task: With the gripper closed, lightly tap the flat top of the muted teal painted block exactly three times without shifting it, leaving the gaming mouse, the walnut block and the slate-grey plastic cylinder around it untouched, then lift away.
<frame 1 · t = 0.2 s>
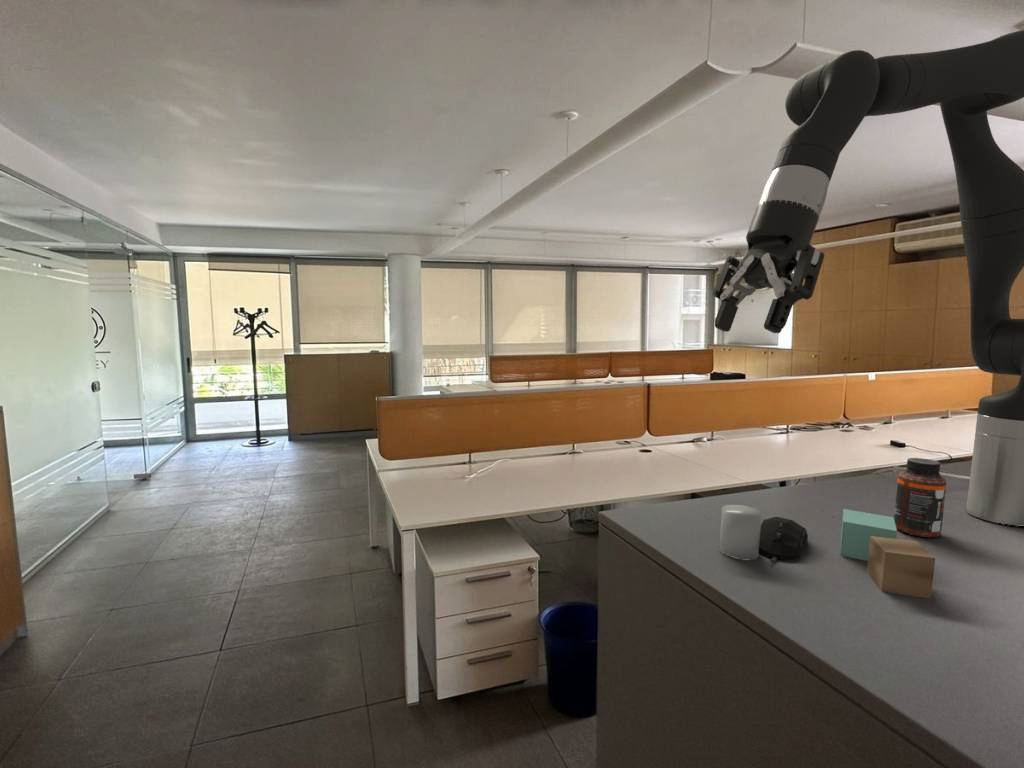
hand: (744, 330, 68), 31 cm above the table, tool tilted 20°, fingers open, 8 cm apart
grey cylinder: (738, 552, 73), on the table
gaming mouse: (778, 551, 75), on the table
supplement bottle: (916, 532, 82), on the table
teal block: (865, 553, 74), on the table
walnut block: (897, 585, 65), on the table
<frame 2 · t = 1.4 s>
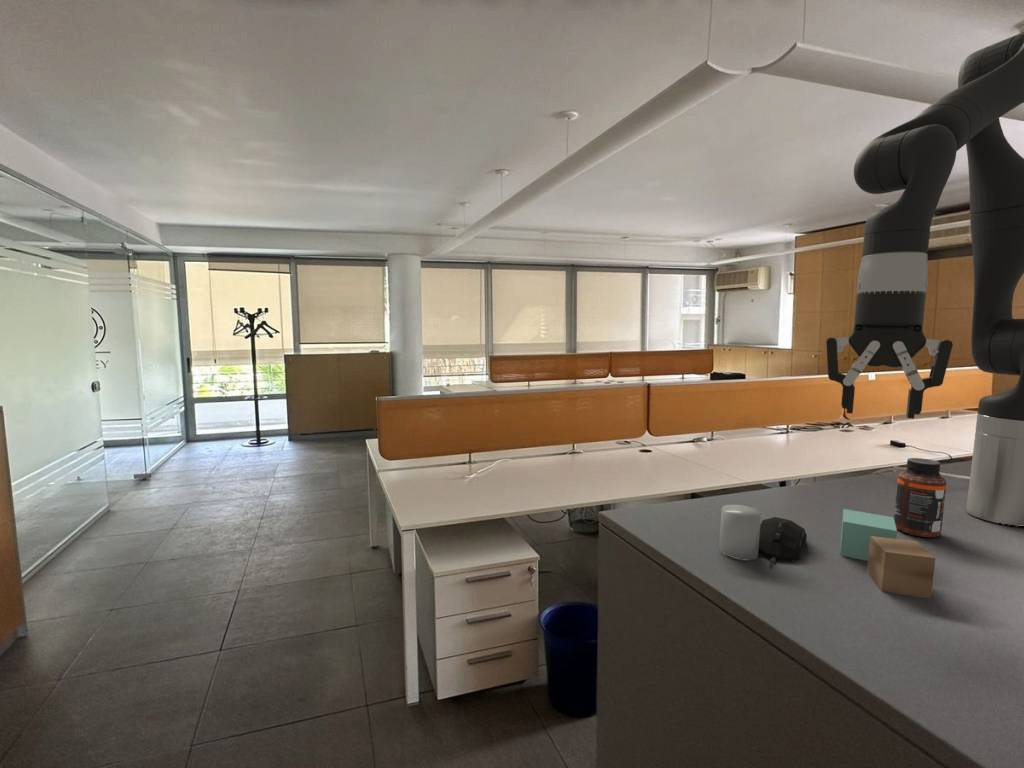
hand: (878, 414, 72), 20 cm above the table, tool pointing down, fingers open, 6 cm apart
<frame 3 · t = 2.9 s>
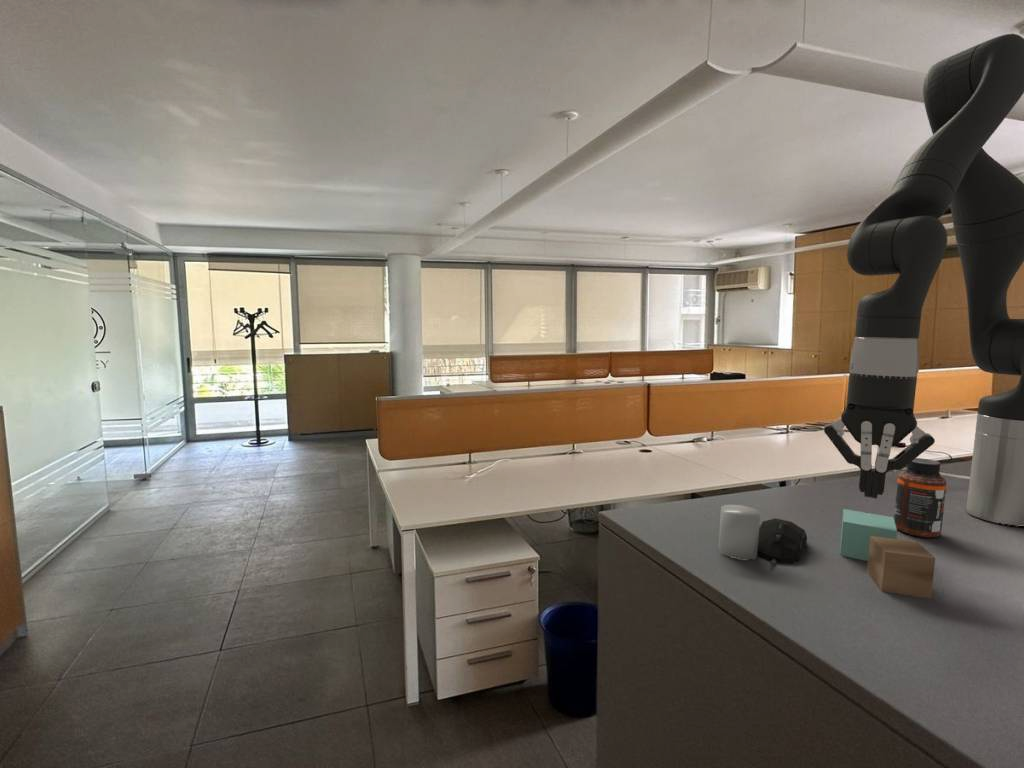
hand: (870, 496, 73), 8 cm above the table, tool pointing down, fingers closed
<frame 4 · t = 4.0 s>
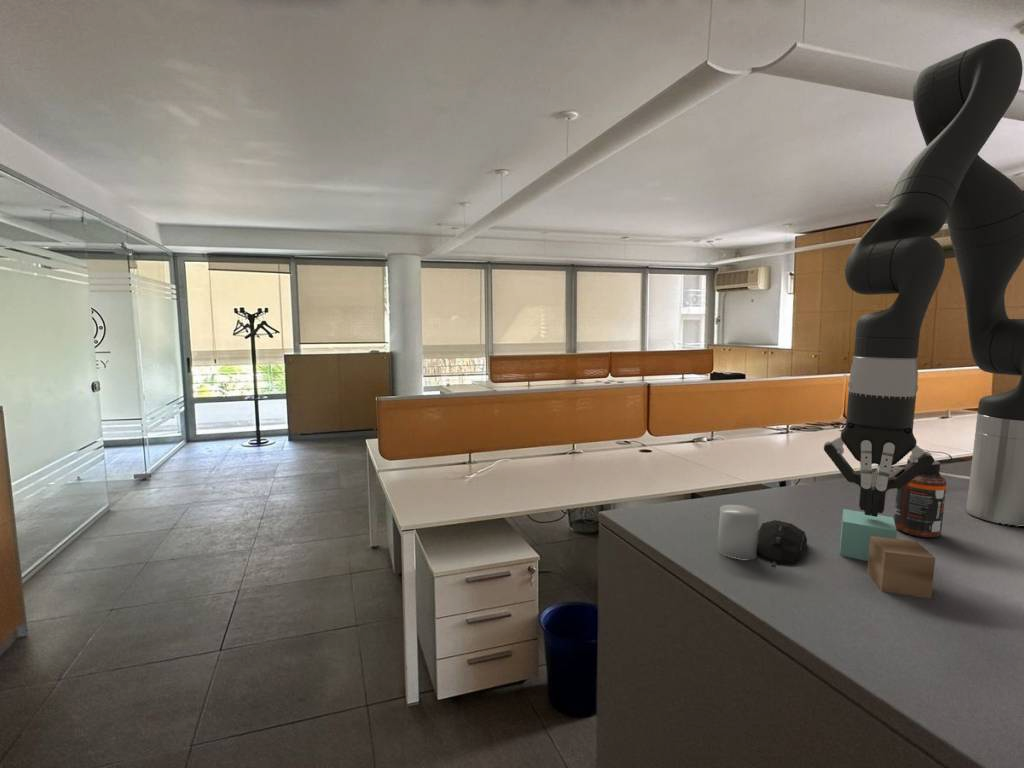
hand: (870, 514, 73), 6 cm above the table, tool pointing down, fingers closed
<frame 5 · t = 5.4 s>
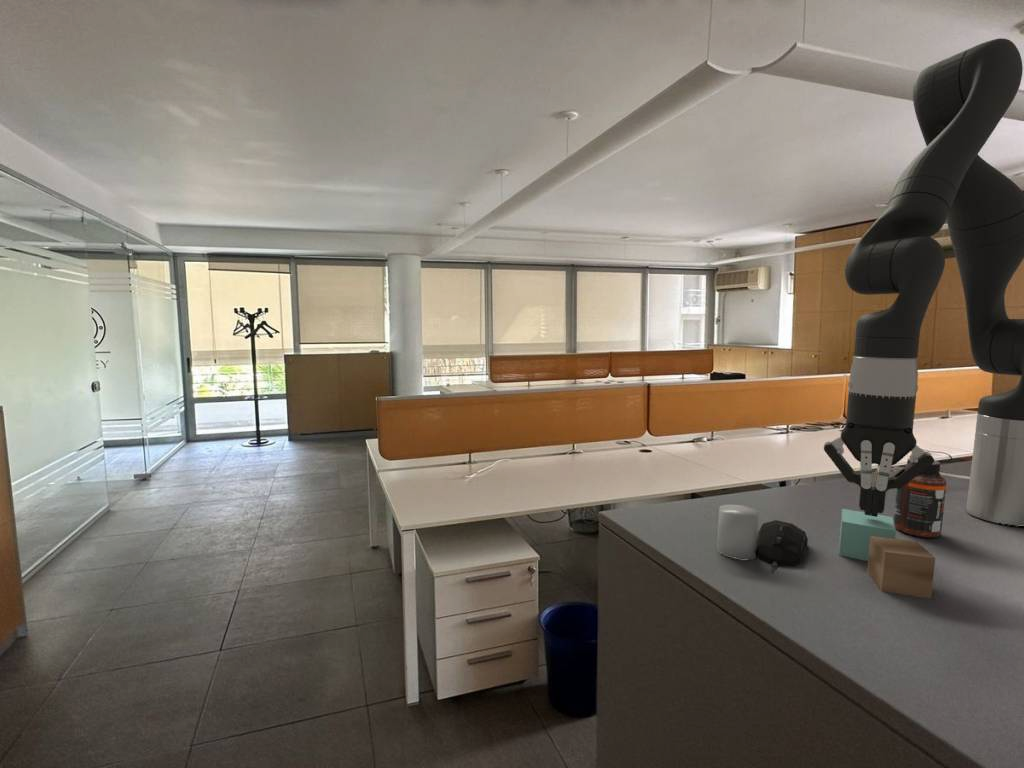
hand: (870, 514, 73), 6 cm above the table, tool pointing down, fingers closed
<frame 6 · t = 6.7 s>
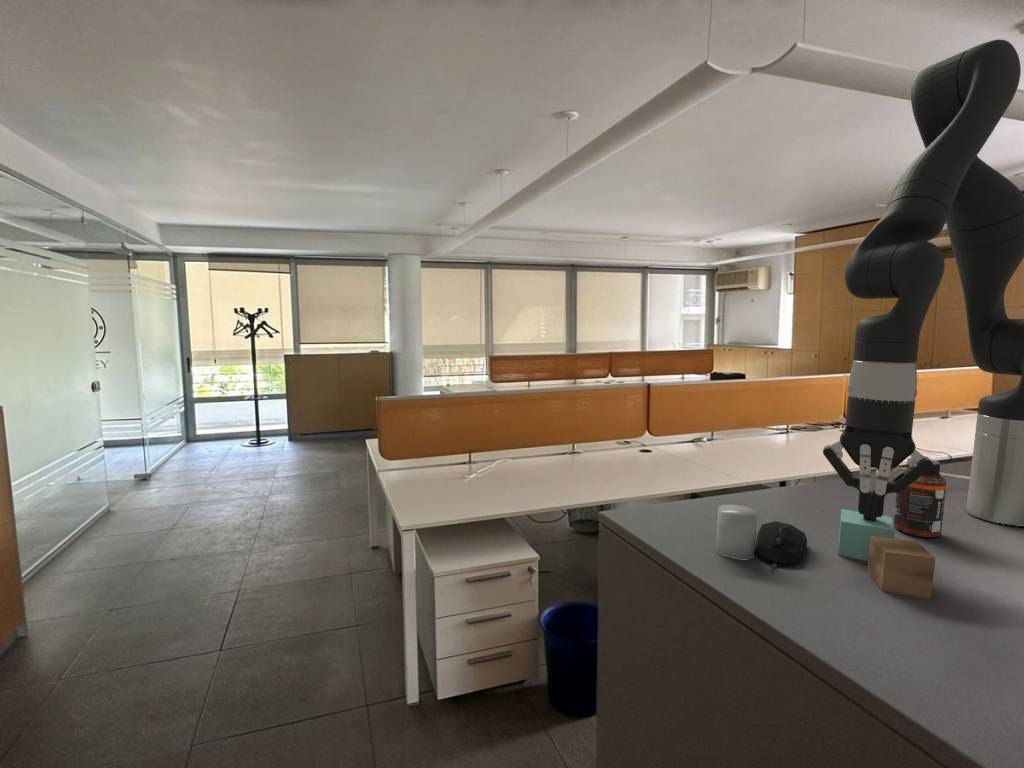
hand: (869, 518, 73), 5 cm above the table, tool pointing down, fingers closed
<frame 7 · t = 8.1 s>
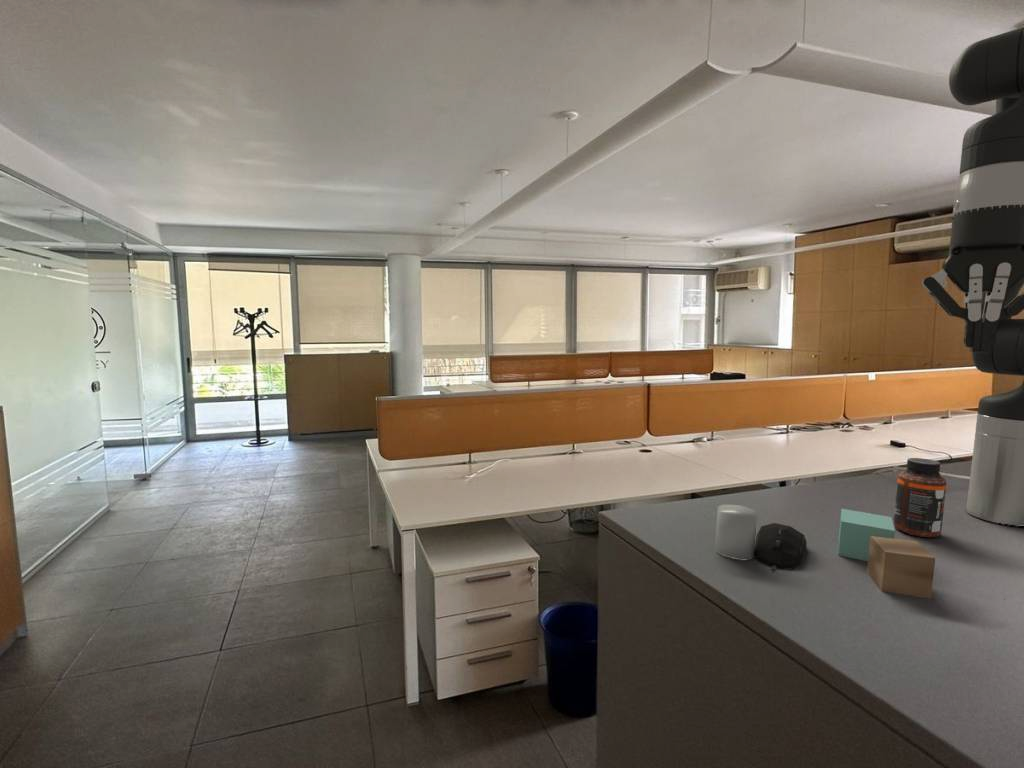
hand: (977, 351, 66), 29 cm above the table, tool pointing down, fingers closed
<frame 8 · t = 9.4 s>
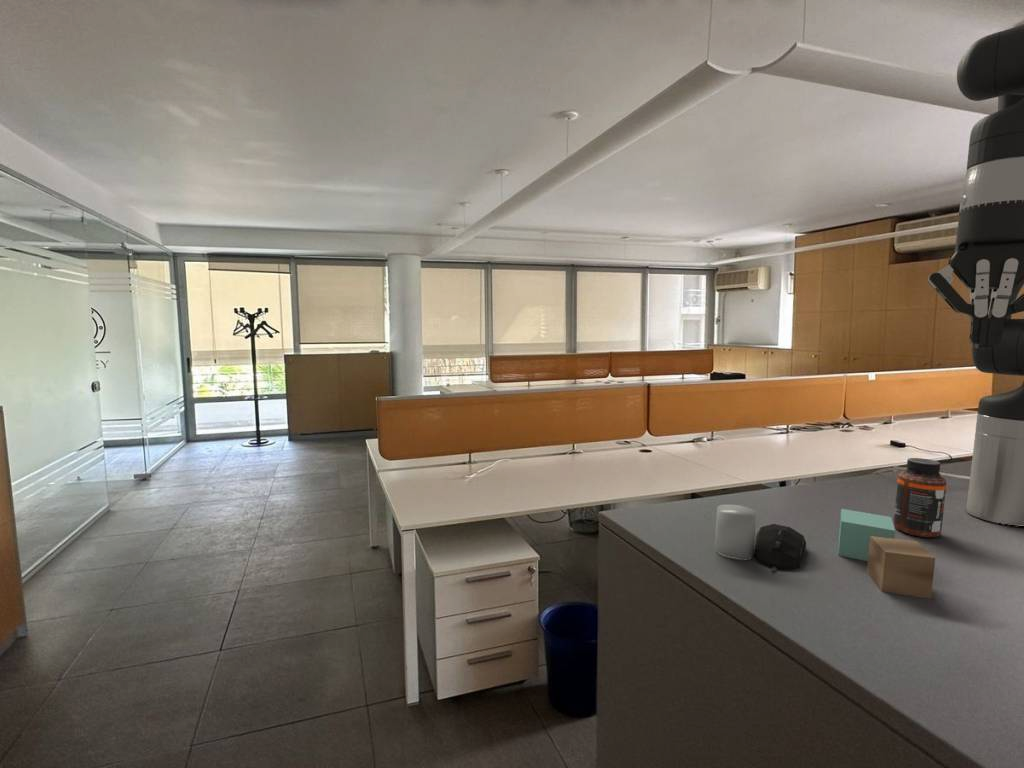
hand: (983, 348, 65), 29 cm above the table, tool pointing down, fingers closed
at the end: teal block moved 0.3 cm from its start; walnut block moved 0.1 cm from its start; grey cylinder moved 0.7 cm from its start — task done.
